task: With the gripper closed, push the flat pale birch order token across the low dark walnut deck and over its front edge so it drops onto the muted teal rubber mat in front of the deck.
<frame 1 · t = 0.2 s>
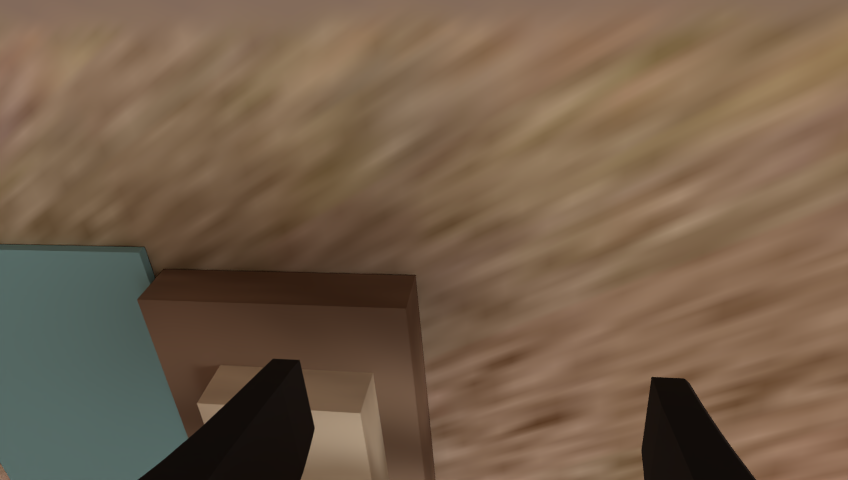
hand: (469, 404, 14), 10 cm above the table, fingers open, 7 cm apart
walnut deck: (314, 406, 28), on the table
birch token: (312, 443, 26), point 2 cm above the table, touching walnut deck
teal mat: (76, 391, 30), on the table
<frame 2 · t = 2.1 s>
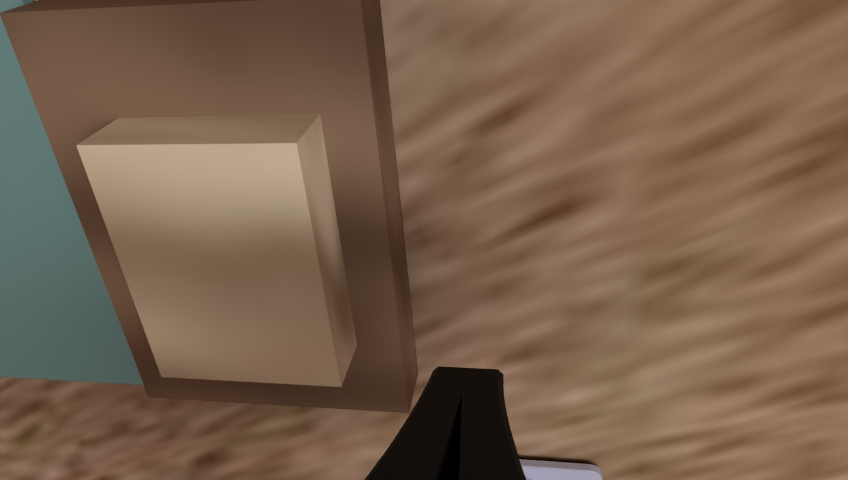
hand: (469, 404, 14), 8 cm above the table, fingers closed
walnut deck: (255, 209, 22), on the table
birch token: (246, 239, 20), point 2 cm above the table, touching walnut deck
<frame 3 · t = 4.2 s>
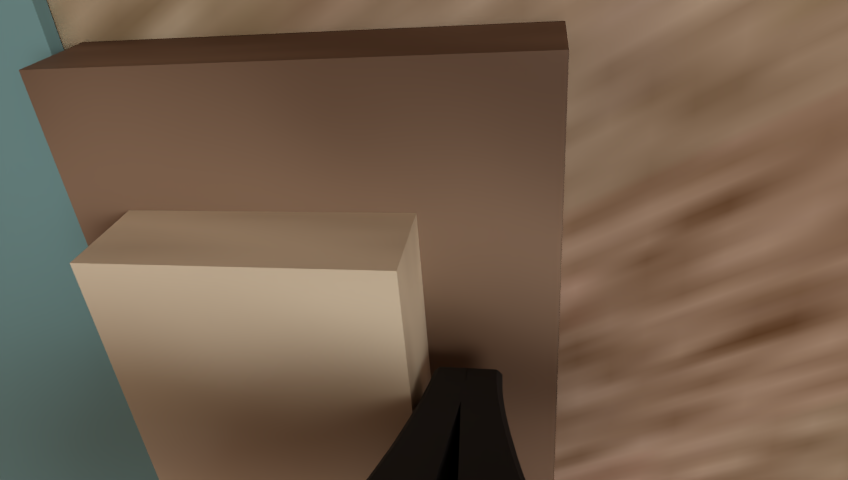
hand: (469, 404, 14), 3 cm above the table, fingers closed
walnut deck: (354, 314, 17), on the table
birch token: (300, 365, 15), point 2 cm above the table, touching gripper, walnut deck
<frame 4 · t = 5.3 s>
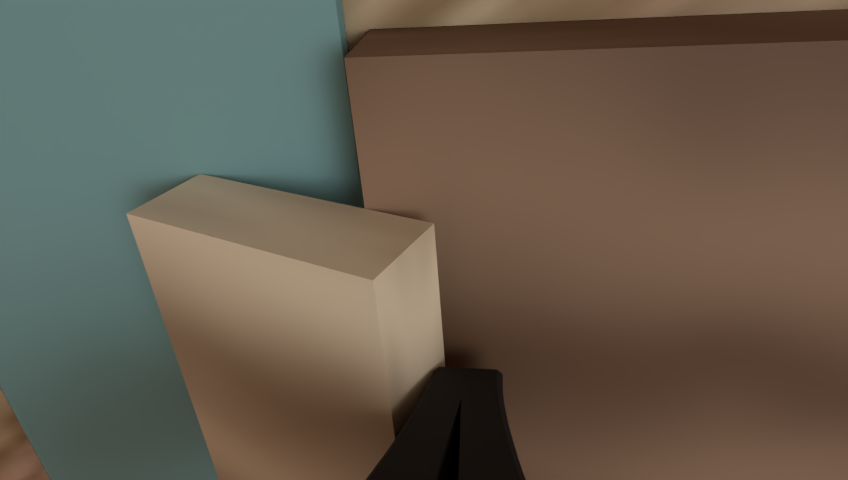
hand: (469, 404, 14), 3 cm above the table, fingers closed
walnut deck: (609, 323, 15), on the table
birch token: (333, 349, 15), point 1 cm above the table, tilted 21°, touching gripper, teal mat
teal mat: (164, 307, 17), on the table
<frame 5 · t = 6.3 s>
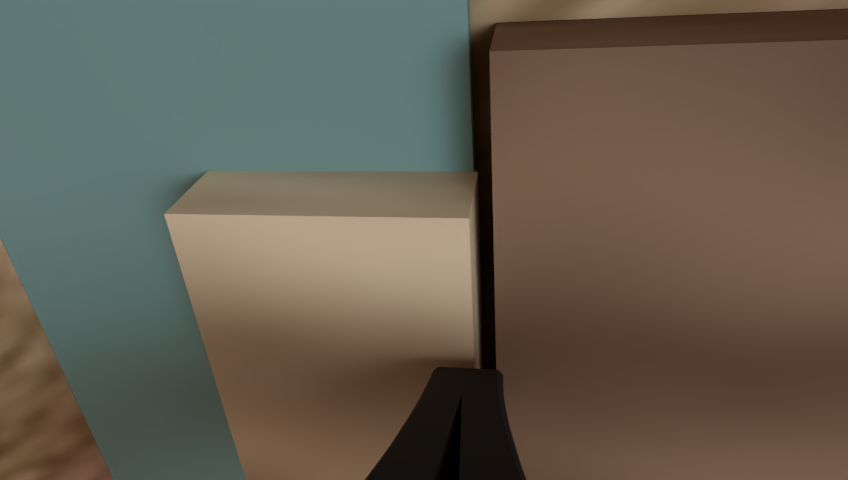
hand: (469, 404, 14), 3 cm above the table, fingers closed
walnut deck: (719, 326, 15), on the table
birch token: (360, 319, 16), resting on teal mat
teal mat: (249, 309, 17), on the table
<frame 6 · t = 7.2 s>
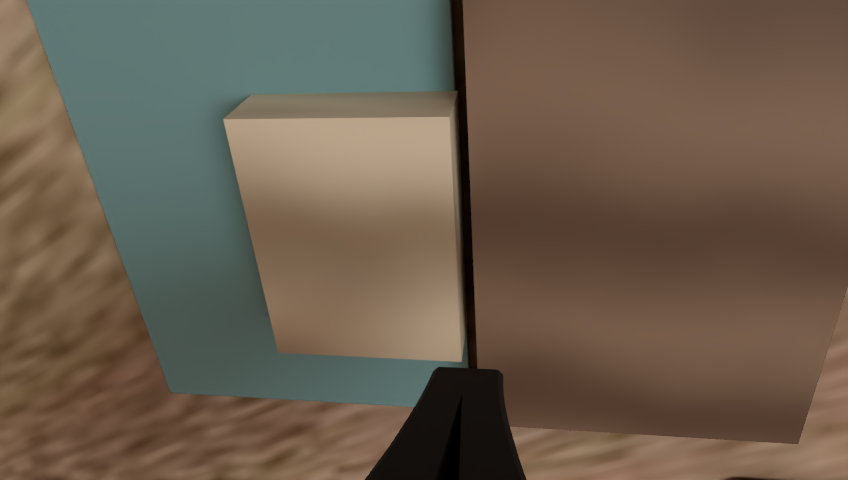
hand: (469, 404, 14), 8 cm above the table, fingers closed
walnut deck: (645, 216, 19), on the table
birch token: (367, 216, 20), resting on teal mat
teal mat: (279, 213, 21), on the table
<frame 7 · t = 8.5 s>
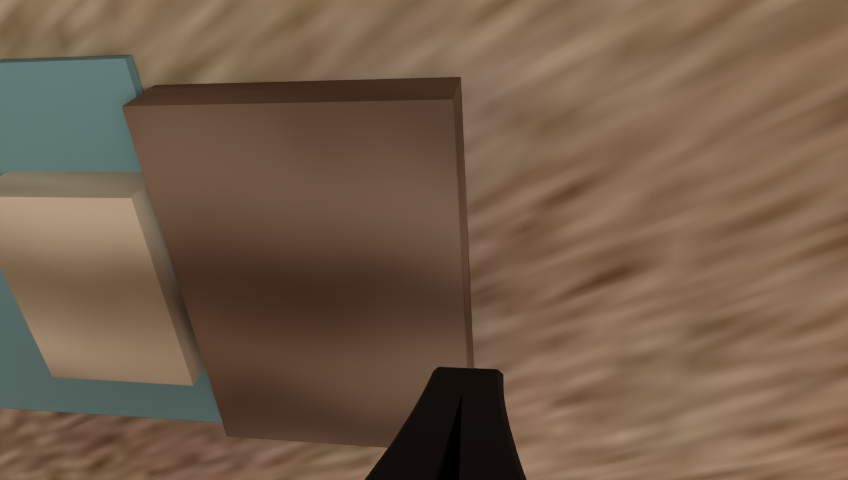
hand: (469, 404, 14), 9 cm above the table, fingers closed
walnut deck: (333, 268, 24), on the table
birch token: (118, 266, 25), resting on teal mat
teal mat: (54, 262, 26), on the table
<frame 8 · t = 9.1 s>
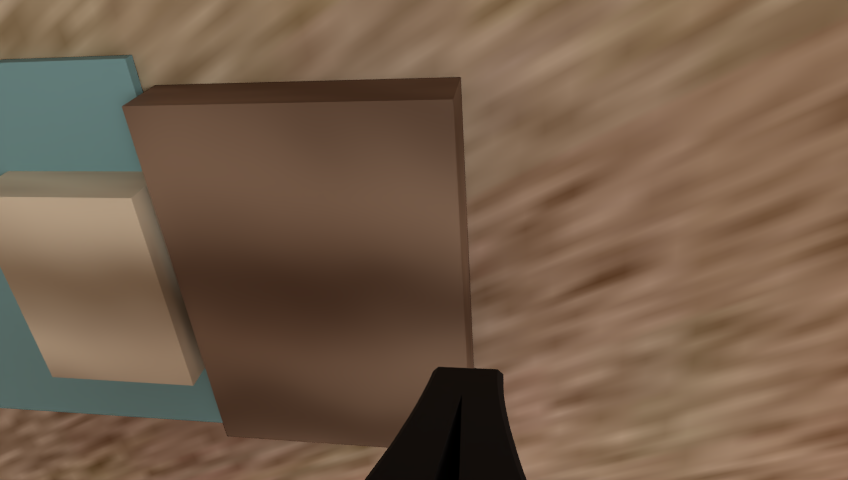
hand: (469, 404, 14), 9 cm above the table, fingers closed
walnut deck: (333, 268, 24), on the table
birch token: (118, 266, 25), resting on teal mat
teal mat: (54, 262, 26), on the table
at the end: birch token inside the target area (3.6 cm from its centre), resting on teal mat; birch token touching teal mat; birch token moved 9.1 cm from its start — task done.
